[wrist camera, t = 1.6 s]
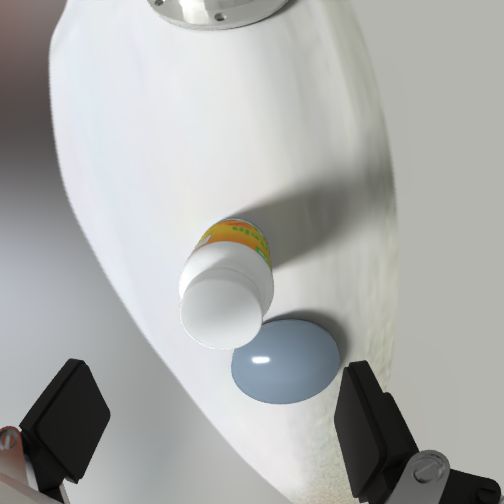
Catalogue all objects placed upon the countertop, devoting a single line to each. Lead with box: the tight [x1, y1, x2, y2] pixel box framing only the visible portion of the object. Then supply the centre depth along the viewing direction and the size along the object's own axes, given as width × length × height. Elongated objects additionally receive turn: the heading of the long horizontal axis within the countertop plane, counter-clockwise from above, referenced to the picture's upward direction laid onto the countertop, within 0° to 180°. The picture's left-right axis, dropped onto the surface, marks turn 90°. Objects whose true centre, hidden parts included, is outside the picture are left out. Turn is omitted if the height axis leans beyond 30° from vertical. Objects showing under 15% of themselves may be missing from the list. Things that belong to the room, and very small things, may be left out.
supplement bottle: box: [179, 219, 274, 350], centre depth 18 cm, size 5×5×10 cm
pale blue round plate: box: [231, 319, 340, 404], centre depth 25 cm, size 10×10×2 cm
